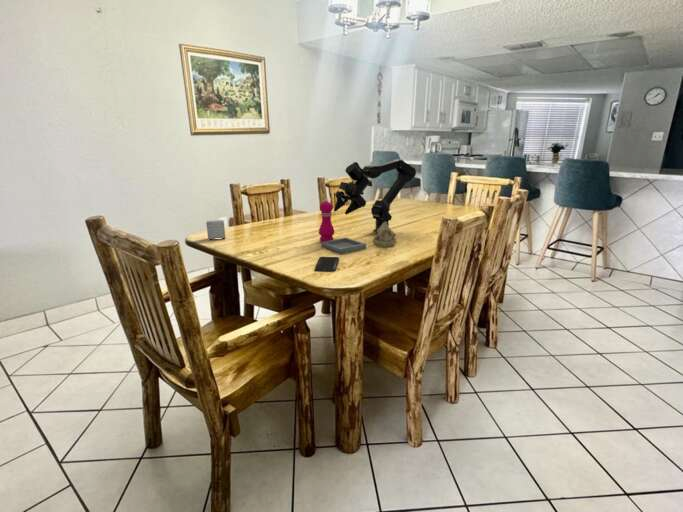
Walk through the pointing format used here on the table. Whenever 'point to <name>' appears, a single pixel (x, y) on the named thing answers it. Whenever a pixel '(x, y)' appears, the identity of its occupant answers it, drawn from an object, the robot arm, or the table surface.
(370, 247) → the table surface
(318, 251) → the table surface
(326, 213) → the pepper mill
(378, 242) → the ceramic model
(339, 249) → the grey tray
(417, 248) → the table surface
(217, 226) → the medicine box
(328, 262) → the phone
